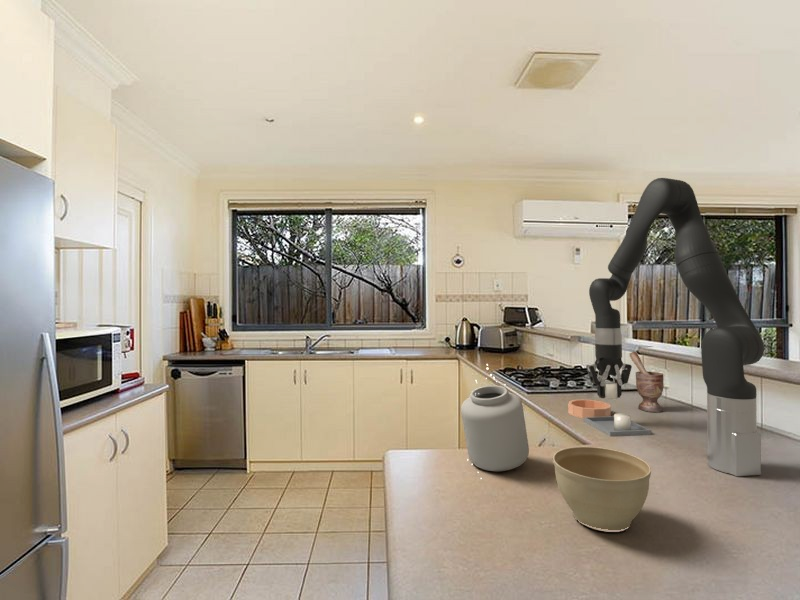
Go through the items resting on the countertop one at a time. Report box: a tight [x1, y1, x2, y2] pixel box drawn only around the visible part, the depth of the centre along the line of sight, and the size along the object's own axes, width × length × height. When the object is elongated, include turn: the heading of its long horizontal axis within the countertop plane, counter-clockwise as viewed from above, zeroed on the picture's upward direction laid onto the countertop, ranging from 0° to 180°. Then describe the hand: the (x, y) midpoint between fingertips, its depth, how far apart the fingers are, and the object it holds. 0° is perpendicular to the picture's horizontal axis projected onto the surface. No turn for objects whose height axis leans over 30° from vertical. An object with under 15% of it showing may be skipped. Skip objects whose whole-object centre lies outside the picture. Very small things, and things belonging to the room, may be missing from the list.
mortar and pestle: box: [628, 351, 664, 413], centre depth 155 cm, size 12×9×20 cm
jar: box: [460, 363, 530, 480], centre depth 105 cm, size 19×15×25 cm
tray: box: [583, 415, 652, 437], centre depth 131 cm, size 15×12×2 cm
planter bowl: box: [552, 446, 652, 530], centre depth 79 cm, size 16×16×11 cm
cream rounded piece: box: [613, 412, 632, 431], centre depth 128 cm, size 4×4×5 cm
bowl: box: [567, 398, 612, 419], centre depth 147 cm, size 13×13×4 cm
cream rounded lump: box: [603, 381, 618, 400], centre depth 134 cm, size 4×4×5 cm
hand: (609, 397), depth 134 cm, fingers closed on cream rounded lump, 4 cm apart
